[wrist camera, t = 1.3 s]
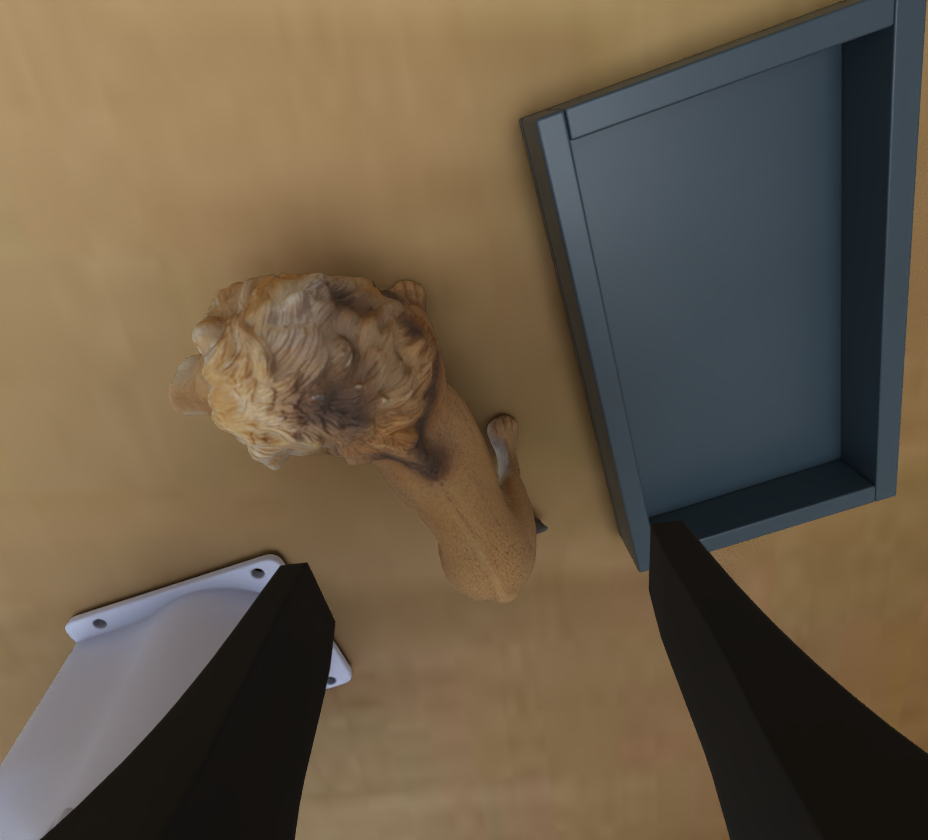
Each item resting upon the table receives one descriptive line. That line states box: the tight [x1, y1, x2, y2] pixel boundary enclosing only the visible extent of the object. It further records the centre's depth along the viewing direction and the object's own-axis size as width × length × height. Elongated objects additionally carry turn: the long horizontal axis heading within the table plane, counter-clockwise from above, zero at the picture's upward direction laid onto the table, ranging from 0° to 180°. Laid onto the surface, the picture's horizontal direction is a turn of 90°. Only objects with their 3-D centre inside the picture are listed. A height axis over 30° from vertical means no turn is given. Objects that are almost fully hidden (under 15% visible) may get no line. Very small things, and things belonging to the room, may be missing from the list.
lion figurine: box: [168, 273, 548, 603], centre depth 17 cm, size 15×5×9 cm, turn 39°
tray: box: [519, 0, 926, 572], centre depth 19 cm, size 10×17×2 cm, turn 18°
